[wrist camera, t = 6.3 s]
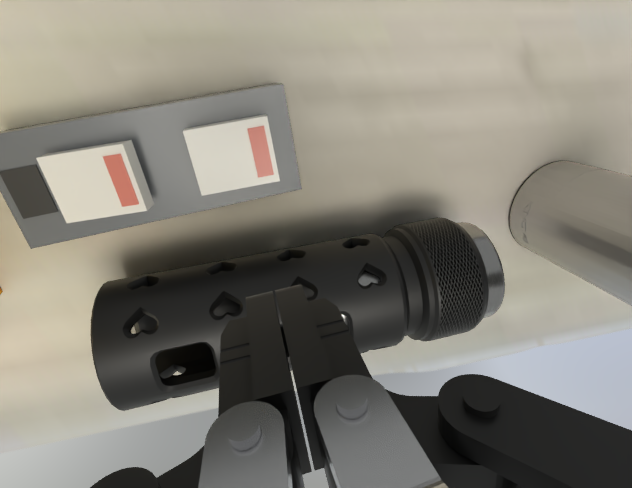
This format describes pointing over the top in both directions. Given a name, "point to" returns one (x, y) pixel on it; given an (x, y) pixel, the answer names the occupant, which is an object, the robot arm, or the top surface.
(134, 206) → the rocker
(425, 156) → the top surface
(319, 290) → the muzzle brake
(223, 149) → the rocker
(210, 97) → the switch strip
